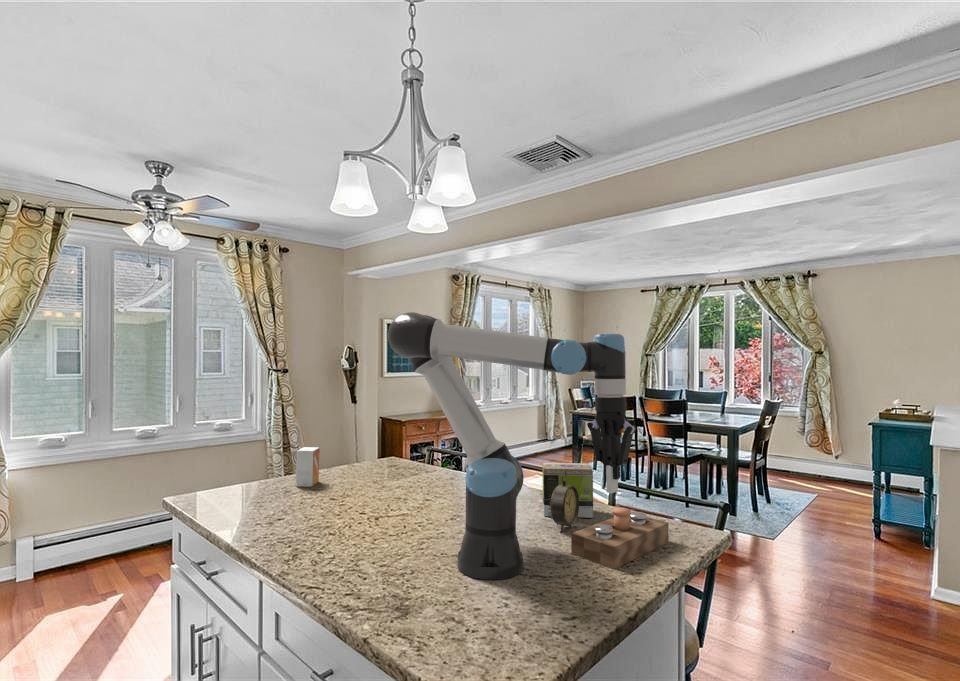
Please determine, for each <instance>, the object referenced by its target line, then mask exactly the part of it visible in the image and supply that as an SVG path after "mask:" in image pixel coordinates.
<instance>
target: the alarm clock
mask: <svg viewBox="0 0 960 681" xmlns="http://www.w3.org/2000/svg"><path fill="white" fill-rule="evenodd" d="M564 471H565V470H564ZM564 471H563V473H564ZM563 473H562V482H563V485H558V486H557V487H556V488H555V489H554V491H553V494H552V497H551V504H550V509H551V515H552V516H551V519H552V520H553V522H554V523H555V524H556V526H560V532H559V533H560V534H562V533H563V530H564V527H565V526H566V527H572V526H574V524H576V522H577V519H578V517H577V516H578V512H579V497H578V492H577V490H576V488H575V487H574V486H569V485H566V483H565V482H566V481H565V480H566V471H565V480H563Z"/></svg>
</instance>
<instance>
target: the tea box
mask: <svg viewBox="0 0 960 681" xmlns="http://www.w3.org/2000/svg"><path fill="white" fill-rule="evenodd" d="M564 470H565V471H566V480H565V471H564ZM563 471H564V473H563ZM562 473H563V480H565V481H566V482H565V483H566V485H569V486H574V487H575V488H576V490H577V492H578V497H579V512H578V516H577V518H588V519H589V518H590V519H591V518H592V519H594V471H593V468H592V466H591V465H590V463H587V462H583V463H581V462H580V463H578V462H542V508H543V509H542V510H543V517H552V515H551V509H550V504H551V497H552V494H553V491H554V489H555V488H556V487H557V486H558V485H563V482H562Z"/></svg>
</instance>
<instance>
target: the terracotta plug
mask: <svg viewBox="0 0 960 681" xmlns="http://www.w3.org/2000/svg"><path fill="white" fill-rule="evenodd" d="M631 511H632V510H631V509H629V508H626V507H613V508H612V514H613V518H614V529H615V530H619V531H622V532H627V531H629V515H630V514H631Z"/></svg>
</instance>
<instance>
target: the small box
mask: <svg viewBox="0 0 960 681" xmlns="http://www.w3.org/2000/svg"><path fill="white" fill-rule="evenodd" d="M320 449H321V448H320V447H318V446H316V447H315V446H314V447H313V446H312V447H311V446H309V447H308V446H304V447H302V448H300V449H298V450H296V463H295V464H296V465H295V487H297V488H298V487H304V488H305V487H309V488H310V487H314V485H316V484H318V482H319V480H320V479H319V477H320V476H319V475H320Z"/></svg>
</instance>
